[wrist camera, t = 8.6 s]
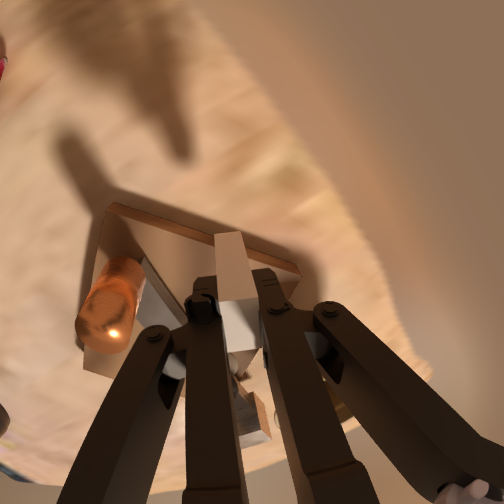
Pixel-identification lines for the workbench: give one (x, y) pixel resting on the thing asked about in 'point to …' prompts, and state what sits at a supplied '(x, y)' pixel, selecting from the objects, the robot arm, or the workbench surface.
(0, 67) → the power drill
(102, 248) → the board
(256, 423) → the lever
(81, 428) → the workbench surface
